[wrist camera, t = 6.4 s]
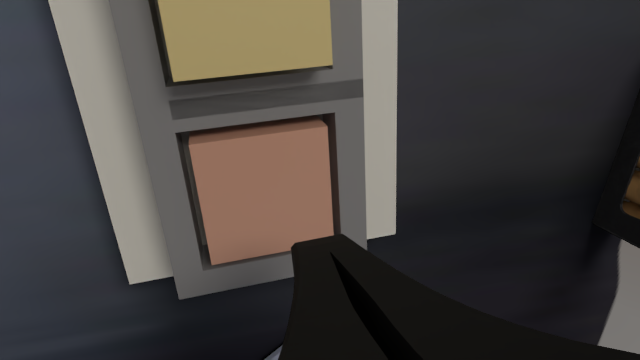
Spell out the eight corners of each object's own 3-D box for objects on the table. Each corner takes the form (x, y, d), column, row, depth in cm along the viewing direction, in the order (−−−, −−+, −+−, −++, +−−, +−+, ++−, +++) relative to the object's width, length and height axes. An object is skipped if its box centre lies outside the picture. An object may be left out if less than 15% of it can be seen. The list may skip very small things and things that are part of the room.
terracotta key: (321, 219, 18) (333, 242, 16) (210, 239, 17) (211, 265, 15) (314, 113, 16) (327, 126, 14) (189, 128, 15) (188, 144, 14)
